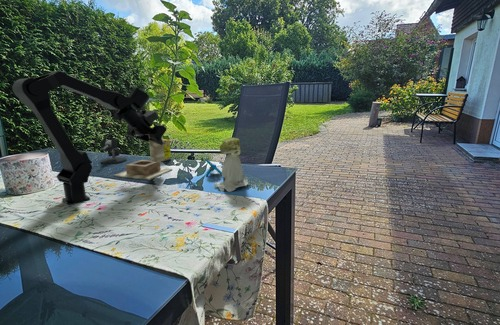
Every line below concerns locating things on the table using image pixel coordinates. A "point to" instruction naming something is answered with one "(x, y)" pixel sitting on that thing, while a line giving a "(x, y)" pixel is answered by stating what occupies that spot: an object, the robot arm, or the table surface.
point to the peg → (156, 151)
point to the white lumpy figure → (231, 166)
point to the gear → (212, 168)
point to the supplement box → (166, 150)
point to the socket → (143, 170)
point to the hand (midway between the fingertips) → (159, 143)
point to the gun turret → (111, 152)
